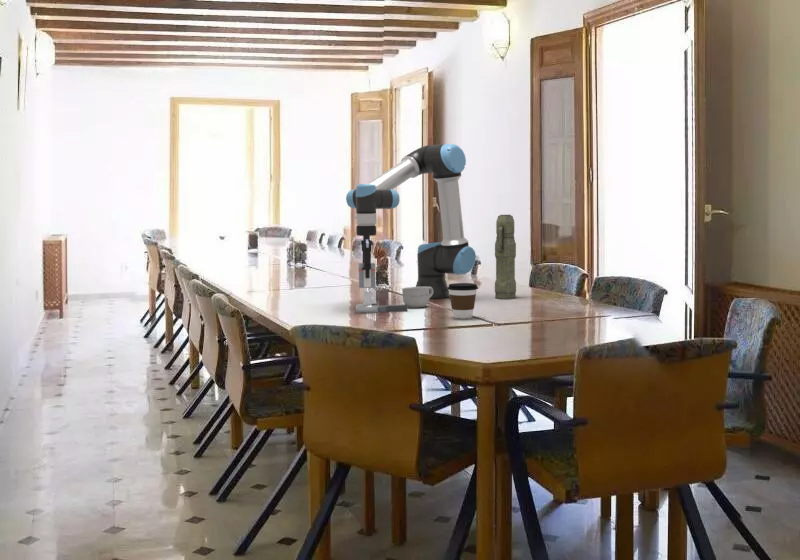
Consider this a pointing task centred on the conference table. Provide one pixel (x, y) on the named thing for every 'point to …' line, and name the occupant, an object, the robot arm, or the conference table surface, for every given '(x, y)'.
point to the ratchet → (376, 306)
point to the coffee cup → (462, 299)
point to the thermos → (505, 258)
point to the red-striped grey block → (361, 275)
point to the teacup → (416, 296)
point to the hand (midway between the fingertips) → (366, 285)
